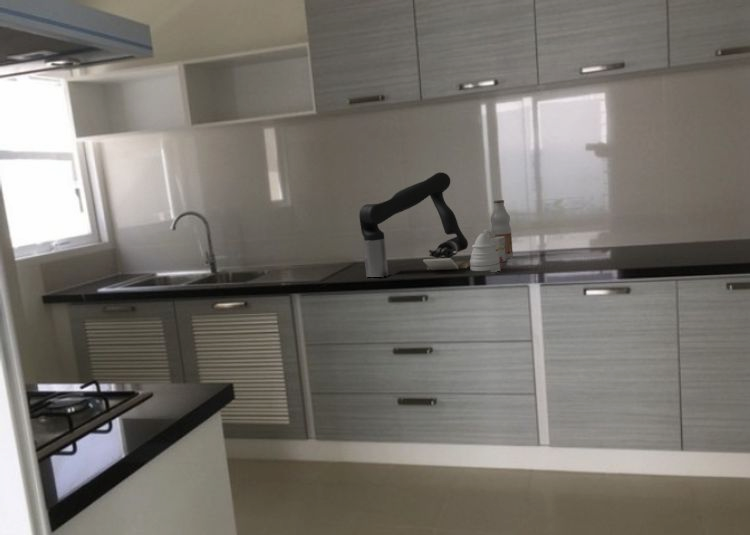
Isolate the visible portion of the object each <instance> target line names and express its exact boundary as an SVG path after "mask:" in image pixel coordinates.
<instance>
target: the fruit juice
mask: <svg viewBox="0 0 750 535" xmlns="http://www.w3.org/2000/svg"><path fill="white" fill-rule="evenodd" d="M493 205H494V208H493V211H492V214H491V216H490V224H491V229H490V230H491V231H495V237H499V236H505V254H506V260H509V259H512V258H513V257H514V253H513V240H512V228H511V225H510V222H511V221H510V220H511V218H510V215H509V213H508V212H507V209H506V207H505V200H503V199H500V200H498V199H497V200H494V201H493ZM491 231H490V232H491ZM491 235H493V233H492V234H491Z"/></svg>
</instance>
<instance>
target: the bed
mask: <svg viewBox="0 0 750 535" xmlns="http://www.w3.org/2000/svg"><path fill="white" fill-rule="evenodd" d="M454 263H455V264H456V265H457V266H458V267H459V269H467V268H468V267H470V260H459V261H458V260H457V261H454ZM426 270H431V269H430V268H429V267H428V266H427V265H426Z"/></svg>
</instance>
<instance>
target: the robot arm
mask: <svg viewBox="0 0 750 535" xmlns="http://www.w3.org/2000/svg"><path fill="white" fill-rule="evenodd" d="M450 185H451V178H450V176H449V175H448V174H447V173H446V172H441V171H439V172H435V173H434V175H433V174H432V176H430V177H428V178H427V179H425V180H423V181H421V182H417V183H415V184H413V185H410V186H407V187H405V188H403V189H401V190H399V191H398V192H396V193H395V194H394V195H393V196H392V197H391V198H390V199H387V200H386V201H382V202H379V203H372V204H371V203H369V204H363V205H362V207H361V208H360V209H359V214H358V215H359V223H360V231H361V234H362V236H363V240H364V241H363V242H364V249H365V250H364V251H365V257H364V265H365V275H366V278H367V277H382V278H385V277H384V276H386V277H389V269H388V261H387V260H388V259H387V250H386V249H387V248H386V241H385V240H386V239H385V234H384V232H383V231H382V230H381V229H380V228H379V225H380V224H382V223H383V222H385V221H387V220H389V218H391V217H393V216H394V215H397V214H400V213H402V212H404V211H406V210H408V209H410V208H413V207H414V206H416V205H419V204H420V203H422V202H423V201H424V200H425V199H427V198H429V197H430V198H431V201H432V203H433V205H434V207H435V209H436V211H437V213H438V215H439V218H440V220H441V224H442V227H443V230H444V231H443V232H444V233H445V235H449V236H450V235H456V237H453V238H450V239H448V240H446V241H444V242H442V243H439V245H438V246H437V248H436V249H435V250H433V249H429V250H428V255H429V257H432V258H435V259H440V258H451V259H452V257H454V256H456V255H457V253H460V252H462V251H465V250H467V248H468V245H469V242H468V239H467V238H466V237H465V235H464V234H463V233H462V230H461V229H460V227H459V224H458V220H457V217H456V215H455V213H454V211H453V210H452V209H451V208H450V207H449V206H448V204H447V203H446V200H445V198H444V194H443V193H444V192H445V191H447V189H449V187H450Z"/></svg>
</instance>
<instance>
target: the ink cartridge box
mask: <svg viewBox="0 0 750 535" xmlns="http://www.w3.org/2000/svg"><path fill="white" fill-rule="evenodd" d="M492 233H493V235H492ZM488 237H489V239H490V240H491V242H492V243H495V244H496V245H495V246H494V248H495V250H496V252H497V254H498V257H499V259H500V262H499V263H500V264H501V263H504V262H506V261H507V259H506V254H505V236H499V237H495V231H490V232H489V234H488Z"/></svg>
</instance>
